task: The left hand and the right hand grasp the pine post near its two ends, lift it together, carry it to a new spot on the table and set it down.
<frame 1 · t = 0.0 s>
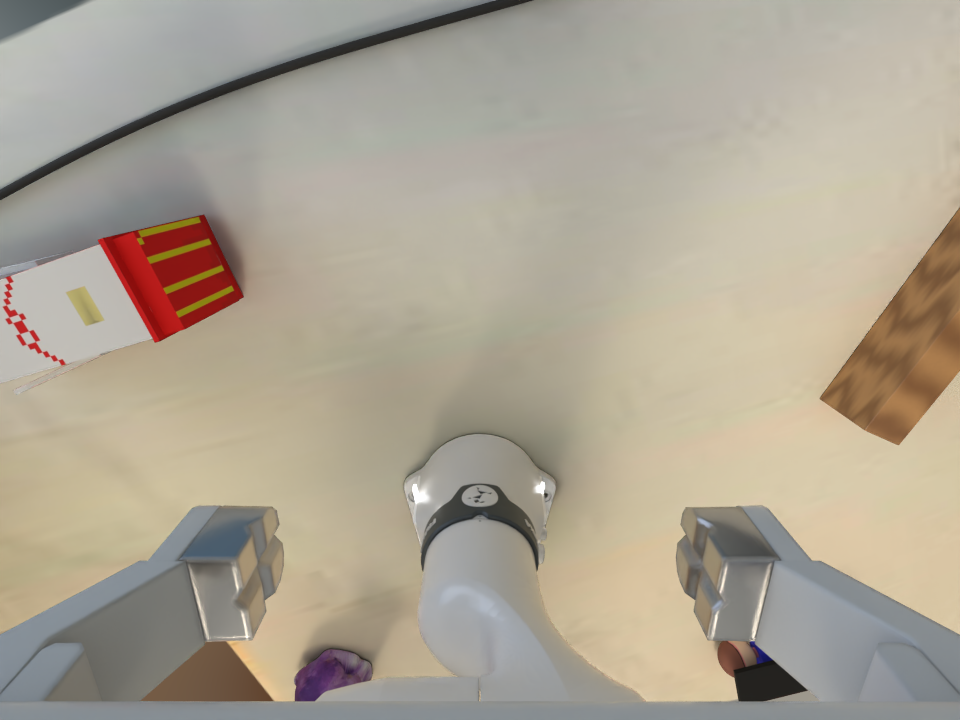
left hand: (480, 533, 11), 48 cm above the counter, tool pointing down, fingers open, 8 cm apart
figurine character: (765, 633, 75), on the counter
toy: (113, 295, 58), on the counter
figurine: (342, 665, 77), on the counter
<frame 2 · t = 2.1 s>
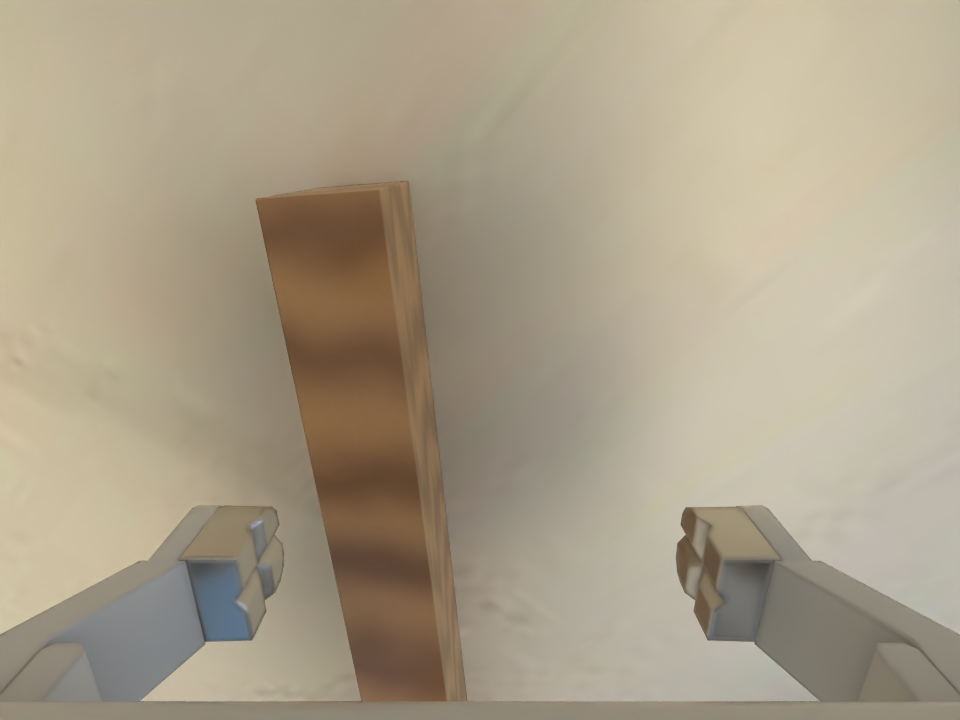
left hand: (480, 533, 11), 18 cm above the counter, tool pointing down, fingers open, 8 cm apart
post: (433, 680, 38), on the counter
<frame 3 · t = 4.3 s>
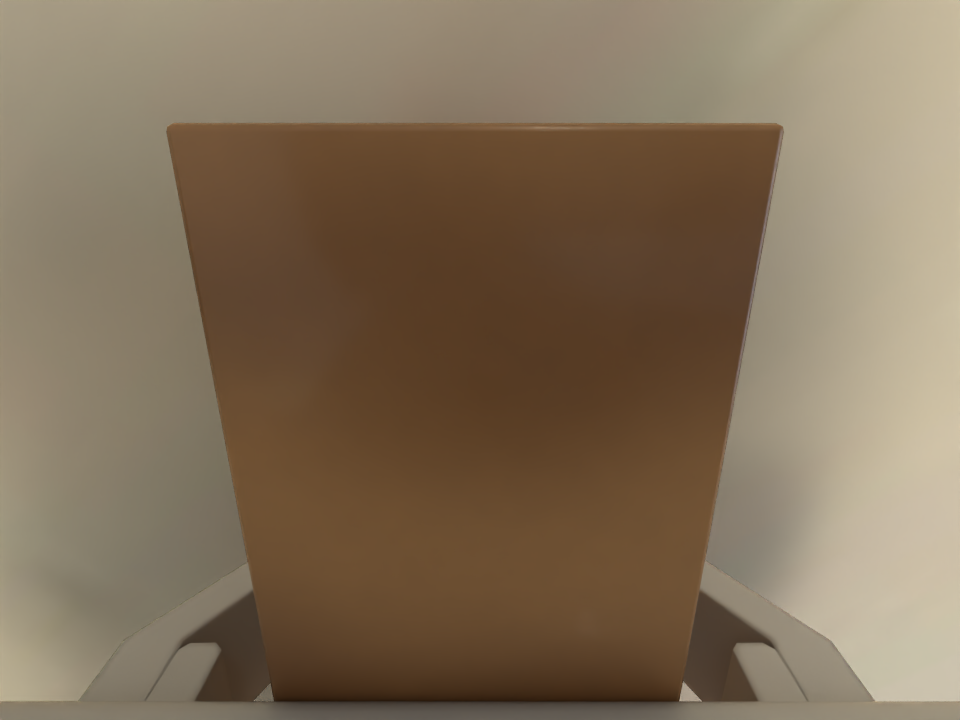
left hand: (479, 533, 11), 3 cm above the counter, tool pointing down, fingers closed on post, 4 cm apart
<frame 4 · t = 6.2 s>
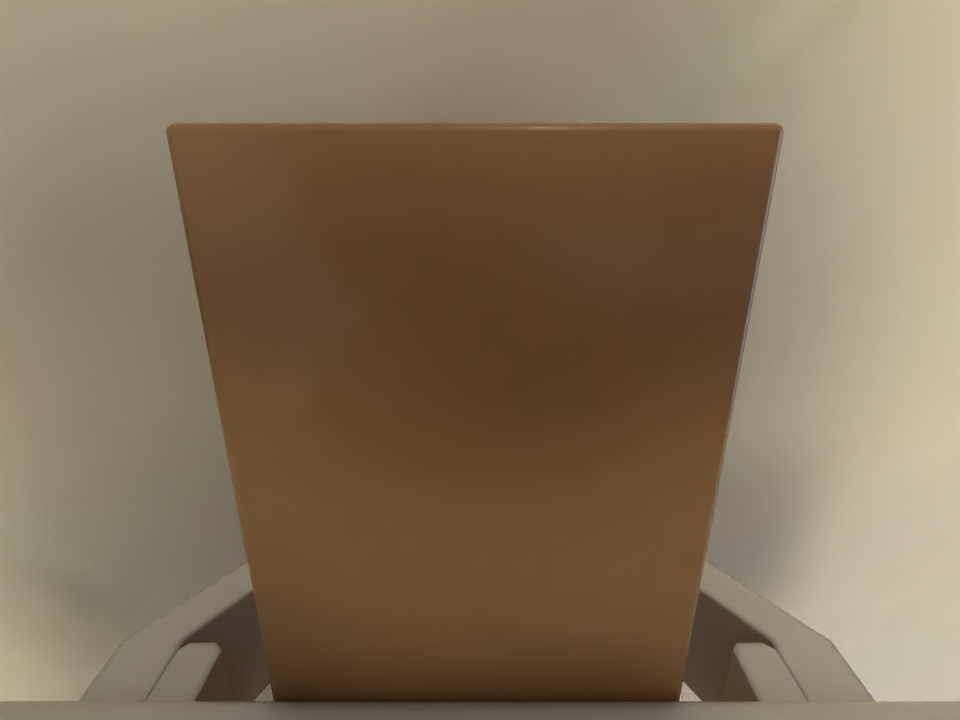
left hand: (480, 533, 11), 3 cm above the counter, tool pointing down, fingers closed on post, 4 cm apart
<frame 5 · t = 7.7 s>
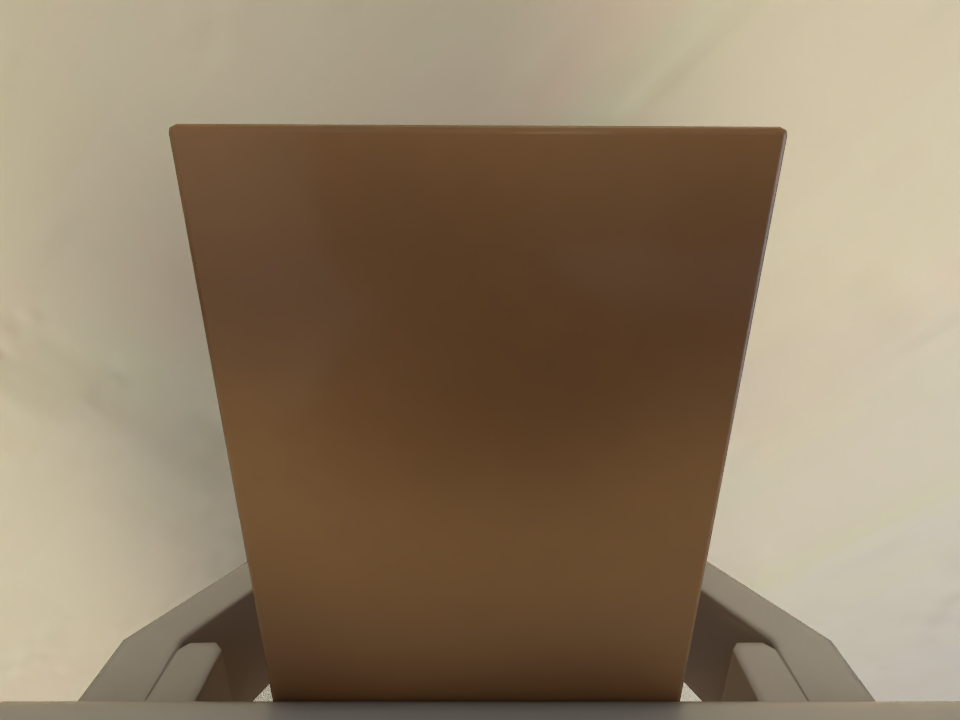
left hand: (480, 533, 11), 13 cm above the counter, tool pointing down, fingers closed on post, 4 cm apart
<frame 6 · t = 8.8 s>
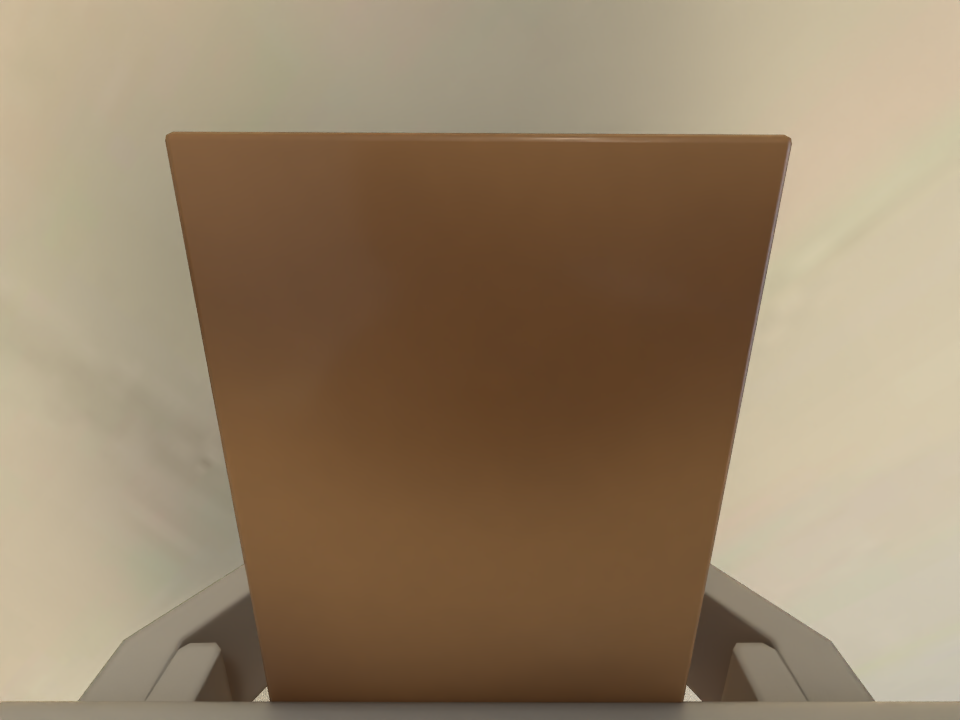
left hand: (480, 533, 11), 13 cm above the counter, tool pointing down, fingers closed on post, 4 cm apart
when the left hand's fingers open (4 cm above the counter, at t = 11.2 s): post drops 1 cm, on the counter.
when the right hand's fingers open (4 cm above the counter, at t = 11.2 s): post drops 1 cm, on the counter.
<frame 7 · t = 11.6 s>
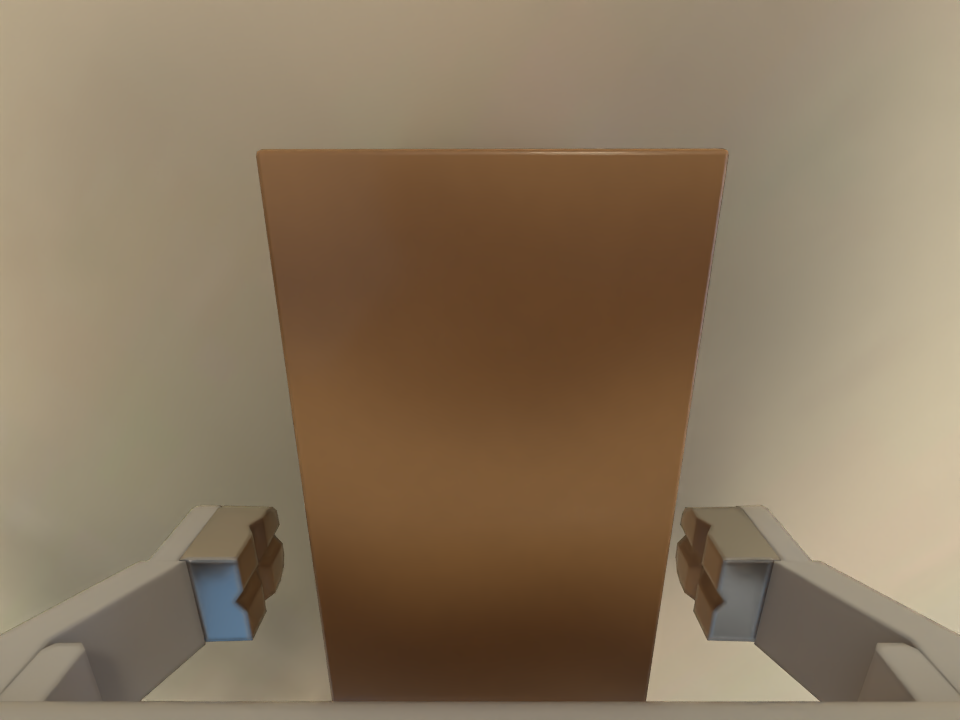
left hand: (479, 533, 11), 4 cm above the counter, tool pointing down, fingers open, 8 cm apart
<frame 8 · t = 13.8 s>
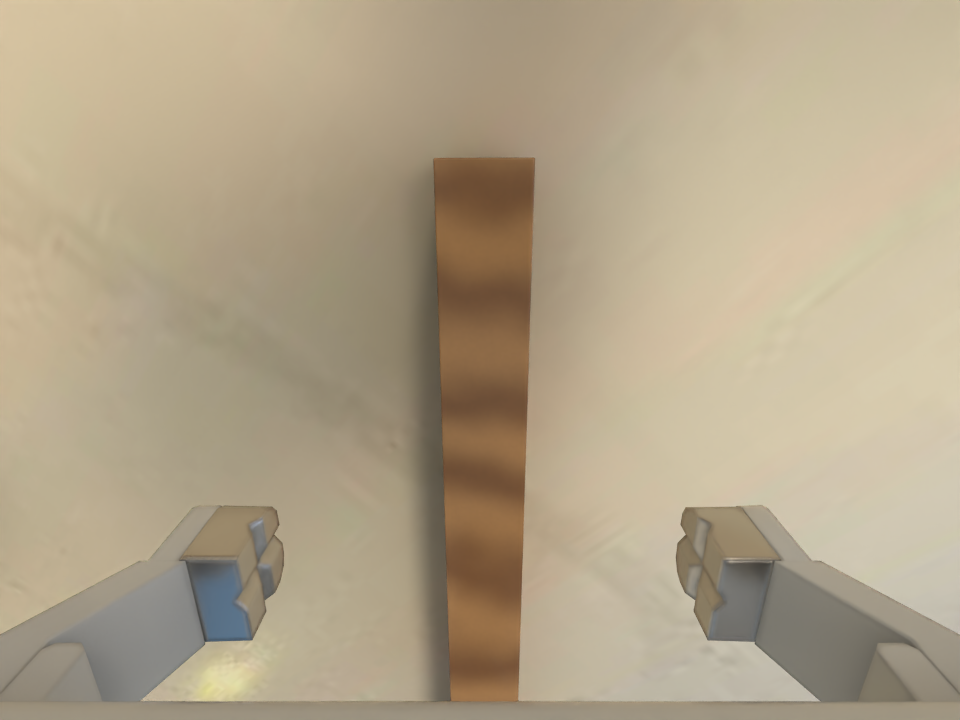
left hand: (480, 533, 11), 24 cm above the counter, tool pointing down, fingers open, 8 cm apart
post: (483, 610, 42), on the counter
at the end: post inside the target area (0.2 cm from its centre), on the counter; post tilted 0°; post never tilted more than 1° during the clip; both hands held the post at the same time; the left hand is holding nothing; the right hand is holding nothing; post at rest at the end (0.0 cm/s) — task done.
